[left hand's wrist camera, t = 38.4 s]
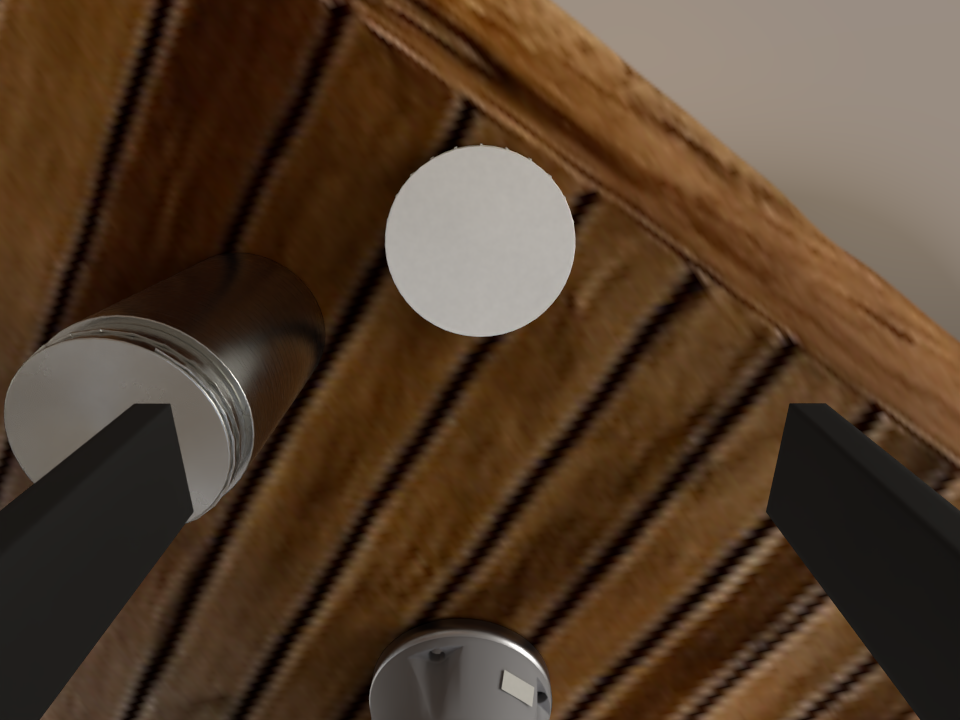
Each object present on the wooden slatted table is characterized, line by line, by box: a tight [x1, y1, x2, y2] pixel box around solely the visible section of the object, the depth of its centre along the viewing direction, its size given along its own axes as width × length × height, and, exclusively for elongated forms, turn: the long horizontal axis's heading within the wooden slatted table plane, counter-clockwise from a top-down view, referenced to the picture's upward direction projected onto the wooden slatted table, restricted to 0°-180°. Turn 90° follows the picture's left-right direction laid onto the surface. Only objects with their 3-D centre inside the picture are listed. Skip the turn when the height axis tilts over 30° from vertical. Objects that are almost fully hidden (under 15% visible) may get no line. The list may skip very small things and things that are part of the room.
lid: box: [385, 144, 575, 337], centre depth 36 cm, size 11×11×2 cm
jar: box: [4, 253, 325, 523], centre depth 32 cm, size 10×10×15 cm
